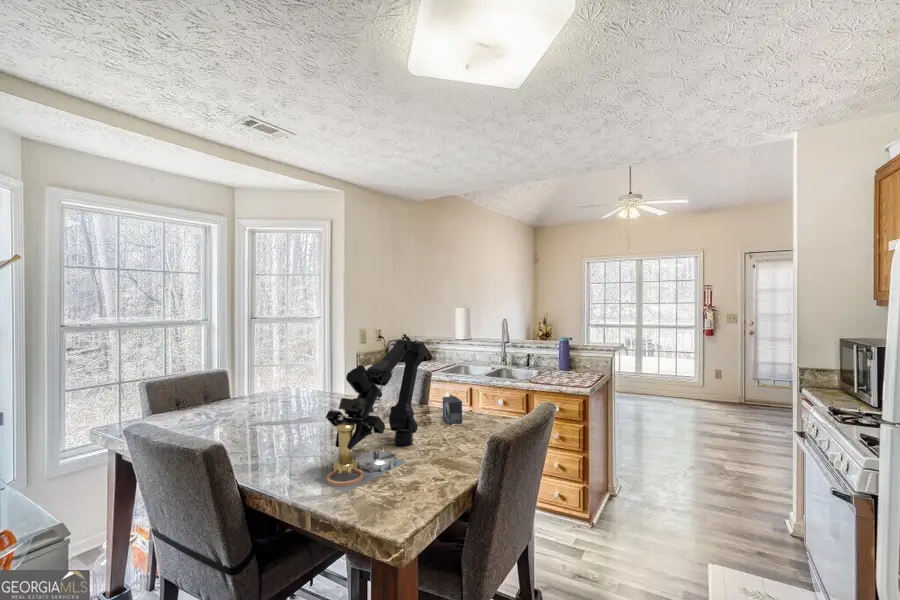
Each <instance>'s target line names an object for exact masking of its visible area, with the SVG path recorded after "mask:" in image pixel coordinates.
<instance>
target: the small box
mask: <svg viewBox="0 0 900 600" xmlns="http://www.w3.org/2000/svg"><path fill="white" fill-rule="evenodd" d="M443 419H444V420H445V421H446V422H447V423H448V424H449V425H452V424H461V423H462V424H463V401H462V400H461V399H460V398H458V397H457V396H455V395H453V396H452V395H451V396H442V420H443ZM444 420H443V421H444ZM445 421H444V422H445ZM446 422H445V423H446ZM447 423H446V424H447ZM448 424H447V425H448ZM449 425H448V426H449Z"/></svg>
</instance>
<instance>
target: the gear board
mask: <svg viewBox="0 0 900 600" xmlns="http://www.w3.org/2000/svg"><path fill="white" fill-rule="evenodd" d="M406 463H407V461H406V460H401V459H398V458H397V465H394V466H393V469H388V470H384V472H380V471H379V472H373V473H369V472H367V471H362V470H360V469H359V468H357V470H353V471H351V472H350V473H348V472H346V473H339V472H337V471H335V472H334V470H332V471H331V472H329V473H327V474H325V475H322V476H320V477H317V478H315V479H313V482H317V483H319V484H322V485H324V486H327V487H329V488H333V489H335V490H338V491H341V492H344V493H349V492H351V491H352V490H354V489H357V488H358V487H360V486H362V485H364V484H367V483H368V482H370V481H373V480H375V479H376V478H378V477H380V476H382V475H384V474H387V473H389V472H390V471H392V470H394V469H396V468H398V467H401V466H403V465H404V464H406Z"/></svg>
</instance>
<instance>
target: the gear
mask: <svg viewBox="0 0 900 600" xmlns="http://www.w3.org/2000/svg"><path fill="white" fill-rule="evenodd" d="M397 459H398V458H397V454H396V453H394V454H393V453H392V451H384V450H374V451H372V450H370V451H368V452H365V453H364V452H362V453H360V454H359V456H355V458H354V460H357V468H359V469H360V470H362V471H367V472H369V473H373V472H379V471H380V472H384V470H388V469H392V470H394V469H393V466H394V465H397Z"/></svg>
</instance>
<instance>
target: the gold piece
mask: <svg viewBox="0 0 900 600" xmlns="http://www.w3.org/2000/svg"><path fill="white" fill-rule="evenodd" d="M335 429H336V430H335V431H339V447H338V459H337V460H335V461H334V463H333V471H334V472H335V471H337V472H339V473H346V472H348V473H350V472H351V471H353V470H357V460H355V458H353V453H354V452H353V451H354V450H353V449H354V447H353V448H351V449H348V445H349V443H350V440H351V438H352V436H353V434H354V432H353V431H354V430H356V425H355V424H354V423H349V422H345V423H340V424H338V425H337V426H336V428H335Z"/></svg>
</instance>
